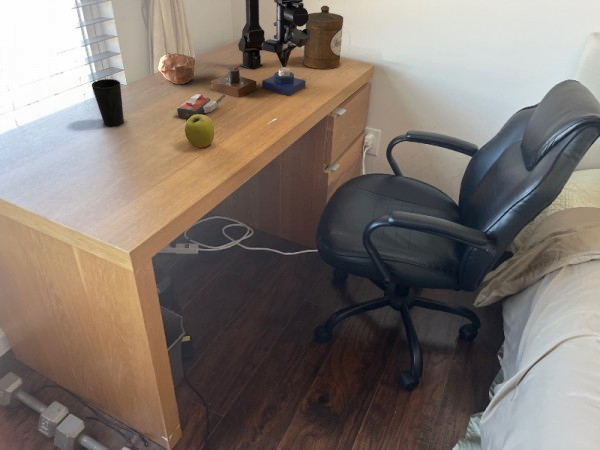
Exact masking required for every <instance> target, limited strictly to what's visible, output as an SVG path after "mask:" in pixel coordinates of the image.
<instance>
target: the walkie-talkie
mask: <svg viewBox="0 0 600 450" xmlns="http://www.w3.org/2000/svg"><path fill="white" fill-rule="evenodd" d="M225 97H226V95H225V94H221V96H219V97H218V98H217V99H216V100H211V99H210V98H209V97H205V96H204V95H203V94H200V93H195V94H193V95H192V96H191V97H189V98H188V99H187V100H186V101H184V102H183V103H182V104H180V105H179V106H177V107H176V114H177V117H179V118H183V119H187V120H188V119H189V118H190V117H191V116H193V115H204V114H207V113H212V112H213V111H214V110H215V109H217V108H218V104H219V103H220V102H221V101H222V100H223V99H224V98H225Z"/></svg>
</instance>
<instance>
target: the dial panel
mask: <svg viewBox="0 0 600 450" xmlns="http://www.w3.org/2000/svg"><path fill="white" fill-rule="evenodd" d="M211 90H212V91H216V92H219V93H222V94H226V95H229V96H233V97H236V98H240V97H242V96H244V95H247V94H249V93H252V92H254V91H256V90H257V80H254V79H251V78H247V77H243V76H240V81H239V82H237V83H231V82H229V81H228V74H225V75H223V76H220V77H218V78H216V79H213V80H211Z"/></svg>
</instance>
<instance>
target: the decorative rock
mask: <svg viewBox="0 0 600 450" xmlns="http://www.w3.org/2000/svg"><path fill="white" fill-rule="evenodd" d="M195 65H196V59H195V58H194V57H192V56H191V55H186V54H181V53H169V52H168V53H167V54H164V55H163V56H162V57H161V58H160V60H159V63H158V66H157V67H158V68H157V69H158V71H159V72H160V73H161V75H162V76H163V77H164V78H165V79H166V80H167V81H170V82H171V83H174V84H176V85H178V84H180V85H181V84H182V85H184V84H185V83H189V82H190V81H192V80H193V78H194V77H195Z"/></svg>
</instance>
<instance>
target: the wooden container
mask: <svg viewBox="0 0 600 450" xmlns="http://www.w3.org/2000/svg"><path fill="white" fill-rule="evenodd" d="M308 14H309V18H308V21H307V23H306V24H305V29H306V28H307V29H309V30H310V40H308V41H307V43H306V46H303V65H305V66H307V67H308V68H312V69H316V70H317V69H318V70H330V69H335V68H337V67H339V66H340V62H341V53H342V41H343V40H342V39H343V26H344V16H342V15H341V14H337V13H333V12H330V7H329V6H328V5H322V6H321V7H320V12H310V13H308Z"/></svg>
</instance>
